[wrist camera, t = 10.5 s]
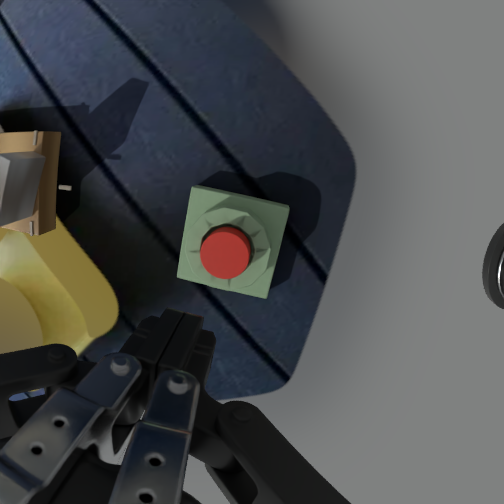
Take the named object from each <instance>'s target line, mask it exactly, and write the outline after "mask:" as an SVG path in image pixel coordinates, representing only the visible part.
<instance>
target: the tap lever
mask: <svg viewBox="0 0 504 504" xmlns="http://www.w3.org/2000/svg"><path fill="white" fill-rule="evenodd" d="M45 159H46V157H45V156H42V155H40V154H38V153H36V152H34V151H27V152H13V153H1V154H0V227H2V226H4V225H7V224H10V223H13V222H16V221H19V220H22V219H25V218H28V217H31V216H32V213H33V209H34V204H35V199H36V195H37V190H38V186H39V182H40V178H41V174H42V170H43V166H44V163H45Z"/></svg>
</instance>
